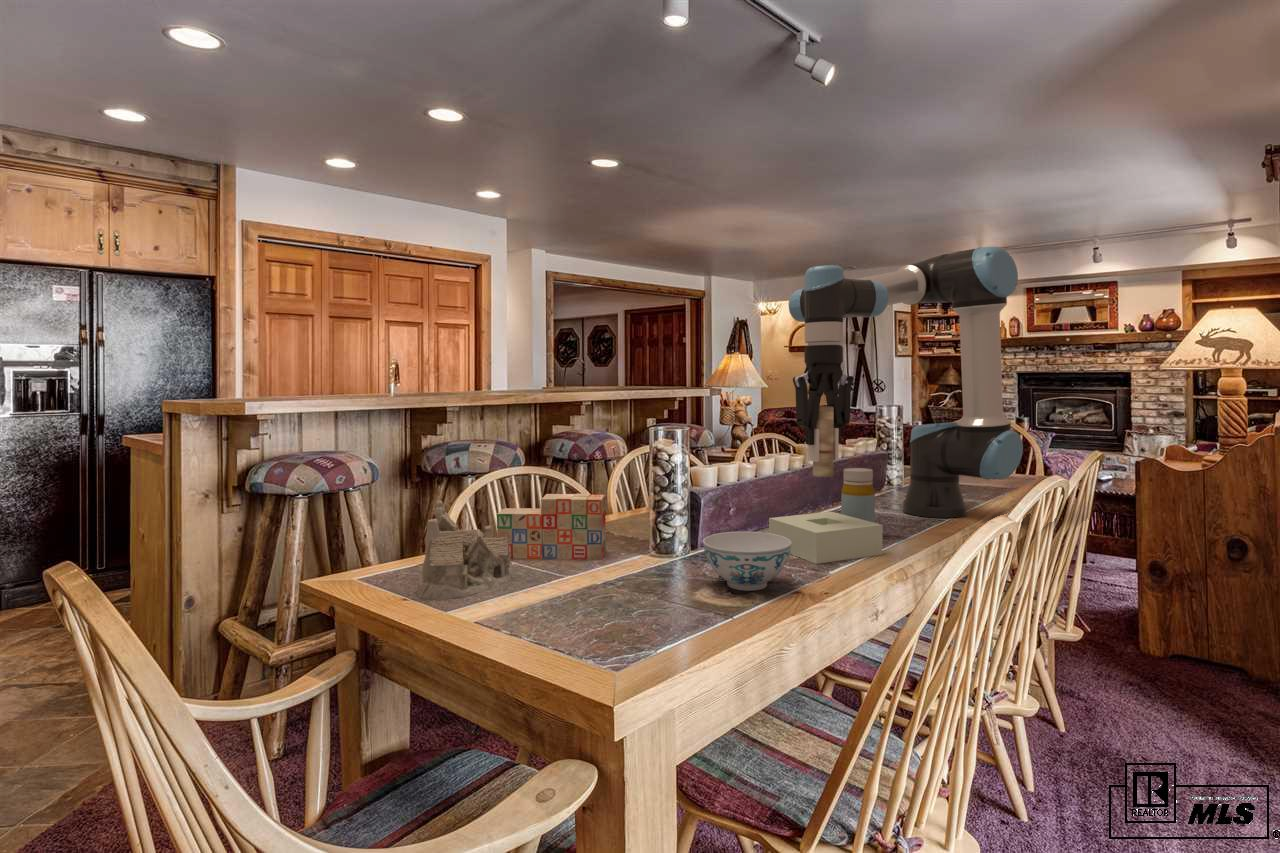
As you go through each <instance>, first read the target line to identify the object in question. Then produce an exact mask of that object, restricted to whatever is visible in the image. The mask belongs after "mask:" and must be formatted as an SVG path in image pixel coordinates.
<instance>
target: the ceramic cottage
mask: <svg viewBox="0 0 1280 853" xmlns="http://www.w3.org/2000/svg"><path fill="white" fill-rule="evenodd" d="M435 517H436V518H431V519H428V521H427V529H426V533H425V538H424V541H425V543H424V545H425V551H424V552H425V555H424V556H425V557H424V559H423V563H422V569H421V574H420V575H419V576H418V577H417V581H418V584H417V589H416V597H418V598H419V599H422V600H427V601H429V600H431V601H440V600H451V599H453V600H454V599H458V598H466V597H469V596H473V595H474V594H479V593H482V592H485V591H488V590H492V589H495V588H498V587H503V586H506V585H508V584H510V583H511V581H512V573H511V572H510V564H511V562H512V561H511V559H512V558H511V556H510V552H509V549H508V540H507V537H502V538H497V537H494V535H493V528H492V526H491V525H486V526H485V525H484V532H482V530H481V529H479V528H478V529H460V528H459V527H460V526H459V525H458V524H456V522H455V521H454V520H452V518H451V516H450V514H449V513H448V512H446V509H445V505H444V503H443V501H442V500H437V501H436V502H435Z"/></svg>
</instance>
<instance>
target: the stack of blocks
mask: <svg viewBox="0 0 1280 853" xmlns="http://www.w3.org/2000/svg"><path fill="white" fill-rule="evenodd" d="M606 513H607V512H606V494H591V493H546V494H545V495H544V496H543V497H542V498H541V499H540V508H527V507H526V508H522V507H521V508H520V507H519V508H517V507H515V508H514V507H513V508H510V507H509V508H508V507H507V508H502V509H501V510H500V511H499V512H498V513H497V514H496V529H497V532H496V536H497V537H496V538H502V537H507V540H508V549H509V552H510V556H511V558H510V559H518V560H519V559H522V560H523V559H524V560H525V559H528V560H529V559H530V560H533V559H534V560H543V559H544V560H545V559H546V560H555V559H556V560H603V558H604V556H605V554H606V551H607V550H606V548H607V547H606V546H607V545H606V543H607V542H606V521H607V520H606V515H607V514H606Z"/></svg>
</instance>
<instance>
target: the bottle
mask: <svg viewBox="0 0 1280 853" xmlns="http://www.w3.org/2000/svg"><path fill="white" fill-rule="evenodd" d="M873 480H874V470H873V468H872V469H871V468H865V467H848V468H847V467H846V468H844V469H843V485H842V487H841V493H840V494H841V495H840V496H841V498H840V499H841V503H840V505H841V507H840V509H841V510H840V514H843V515H846V516H850V517H854V518H858V519H862V520H866V521H870V522H873V523H876V522H875V521H876V520H875V518H876V516H875V515H876V514H875V510H876V509H875V508H876V507H875V506H876V505H875V504H876V502H875V501H876V500H875V498H876V492H875V488H874V485H873Z"/></svg>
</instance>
